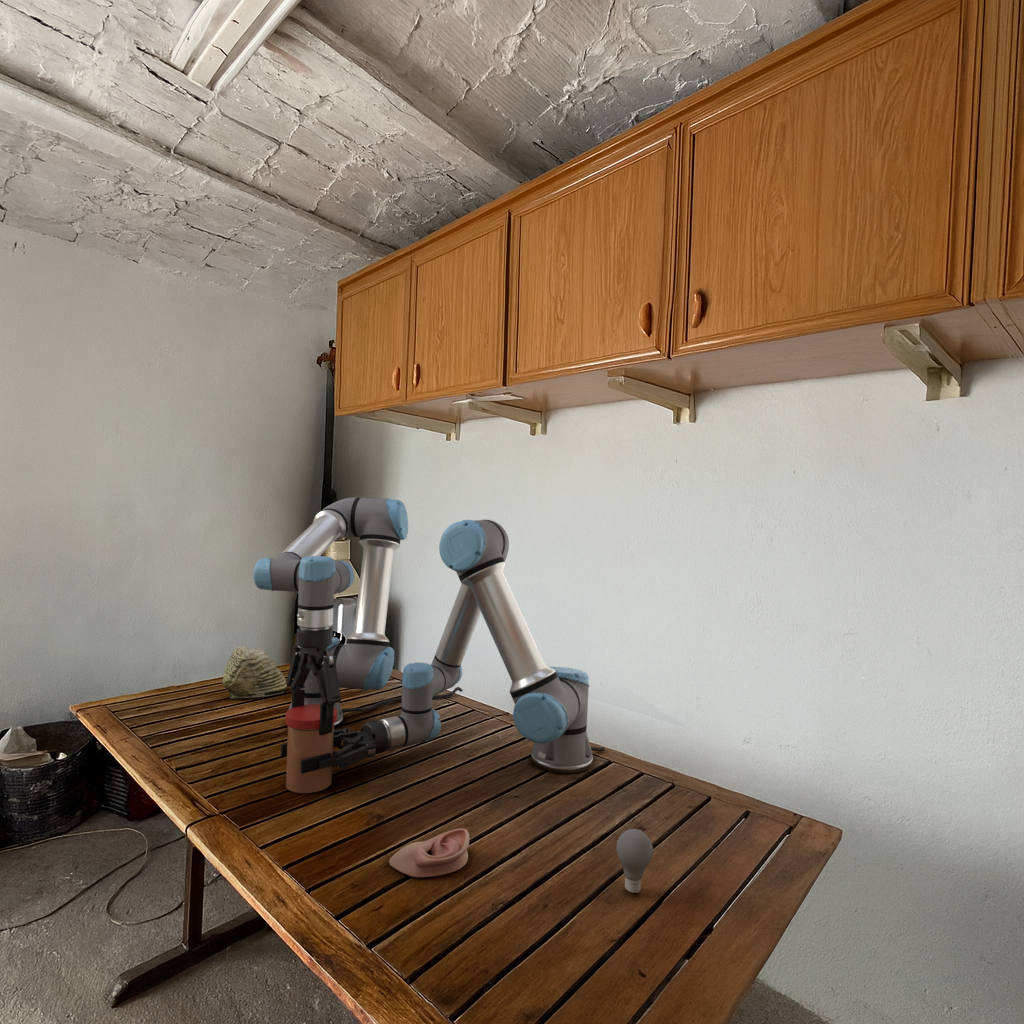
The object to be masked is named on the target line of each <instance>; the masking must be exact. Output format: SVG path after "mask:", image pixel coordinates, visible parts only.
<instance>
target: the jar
mask: <svg viewBox="0 0 1024 1024" xmlns="http://www.w3.org/2000/svg"><path fill="white" fill-rule="evenodd" d="M334 730H335V728H334V723H333V726H332V733H328V734H325V735H319V728H317V729H297V728H292V727H289V726H288V727H287V735H286V737H287V738H286V743H287V756H286V765H285V766H286V767H285V770H286V771H285V788H286V789H287V790H288V791H290V792H293V793H297V794H312V793H317V792H321V791H323V790H326V789H327V788H329V787H330V786H331V785H332V784H333V768H334V767H333V766H330V767H326V768H322V769H318V770H315V771H311V772H307V773H303V774H301V773H300V772H301V760H303V759H307V758H311V757H315V756H319V755H322V754H326V753H331V757H332V756H333V751H334V747H333V742H334Z"/></svg>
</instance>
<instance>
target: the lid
mask: <svg viewBox="0 0 1024 1024" xmlns="http://www.w3.org/2000/svg"><path fill="white" fill-rule="evenodd" d="M284 718H285V721H284V722H285V726H286V725H288V726H289V727H292V728H297V729H317V728H319V727H320V704H311V705H302V706H298V707H294V708H292V709H290V710H289V709H287V711H286V712H285V717H284ZM336 721H337V709H336V708H334V714H333V723H335V722H336Z"/></svg>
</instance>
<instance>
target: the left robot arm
mask: <svg viewBox="0 0 1024 1024" xmlns="http://www.w3.org/2000/svg"><path fill="white" fill-rule="evenodd" d="M408 534H409V518H408V512H407V508H406V505H405V504H404V502H403V501H402V500H400V499H394V498H393V499H392V498H388V497H386V498H373V497H356V496H355V497H354V496H353V497H347V498H343V499H339V500H338V501H335V502H332V503H331V504H329V505H327V506H326V507H324V508H323V509H322V510H320V511H319V512H317V514H316V515H315V516H314V518H313V521H312V524H311V525H309V526H308V528H306V529H305V530H304V531H303V532H302V533H301V534H300V535H299V536H297V538H296V539H294V540H293V541H292V542H291V543H290V544H289V545H288V546H286V548H285V549H284V550H283V551H282V552H281V553H280V554H279V555H277V556H276V557H274V558H273V557H264V558H263V557H262V558H260V559H259V560H258V561H257V562H256V563H255V566H254V568H253V583H254V584H255V586H256V587H257V588H258V589H259V590H263V591H271V592H274V591H275V592H292V593H293V592H295V593H298V596H297V598H298V599H297V614H296V617H297V622H296V623H297V626H298V628H297V629H296V645H293V646H292V656H291V660H290V664H289V668H288V674H287V677H286V685H287V687H289V688H290V692H291V702H290V704H289V708H288V710H290V709H292V708H294V707H298V706H302V705H311V704H320V727H319V735H325V734H328V733H332V726H333V714H334V708H336V709H337V721H336V722H335V723H334V729H335V728H337V727H339V726H340V725H342V723H343V722H344V714H343V713H351V712H353V713H354V712H355V713H356V712H368V711H371V710H372V711H373V710H374V709H375V708H377V707H379V706H382V705H386V704H390V703H396V702H402V696H401V697H395V698H389V699H385V700H380V701H378V702H376V703H374V704H372V705H370V706H367V707H349V708H342V706H341V701H342V698H341V692H340V689H354V690H364V691H370V690H371V691H373V690H375V691H378V690H382V689H383V688H384V687H385V686H386V685H387V684H388V682H389V680H390V677H391V675H392V672H393V668H394V663H395V650H394V648H393V647H391V646H390V640H389V639H388V637H387V636H386V625H387V615H388V609H389V608H388V607H389V606H388V605H389V597H390V589H391V580H392V571H393V564H394V563H393V562H394V554H395V551H396V550H397V549H399V548H400V547H401V541H404V540H406V539H407V538H408ZM347 537H348V538H354V537H355V538H359V541H358V543H359V544H360V545H361V546H362V547H363V553H362V559H361V560H362V561H361V570H360V577H359V586H358V592H357V593H358V594H357V601H356V609H355V616H354V624H353V631H352V633H351V634H350V635H348V636H347V638H346V643H345V644H341V641H340V639H339V638H338V637H334V636H333V632H334V631H333V628H332V626H333V625H334V603H335V602H334V601H335V595H336V594H341V593H343V592H345V591H346V590H348V589H349V588H350V587H351V586H352V585H353V583H354V580H355V571H354V568H353V567H352V566H351V564H350V563H348V562H346V561H344V560H336V559H334V558H333V557H332V556H325V555H324V556H323V554H324V553H325V552H326V551H327V550H328V549H329V547H331V545H332V544H333V543H334V542H338V541H340V540H342V539H343V538H347ZM463 691H464V690H463V689H462V688H461V687H460V686H456V687H454V689H453V690H452V691H451V692H449V693H446V694H437V695H435V696H434V697H432V700H436V699H445V698H449V697H453V695H454V694H456V692H460V693H461V692H462V693H463ZM285 726H286V728H288V725H286V724H285Z"/></svg>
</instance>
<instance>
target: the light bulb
mask: <svg viewBox="0 0 1024 1024" xmlns="http://www.w3.org/2000/svg"><path fill="white" fill-rule="evenodd" d="M615 849H616V854H617V857H618V859H619V861H620V863H621V865H622V867H623V873H624V874H623V875H624V876H625V878H624V888H625V890H627V891H628V892H630V893H634V894H635V893H639V892H640V891H641V889H642V887H641V886H642V879H643V877H644V875H645V871H646V868H647V867H648V866H649V864H650V863H651V861H652V859H653V855H654V847H653V843H652V841H651V838H649V836H648V835H647V834H646V833H645V832H643V831H642V830H641V829H636V828H629V829H627V830H625V831H623V832H622V833H621V834H620V835H619V837H618V839H617V841H616V847H615Z"/></svg>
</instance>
